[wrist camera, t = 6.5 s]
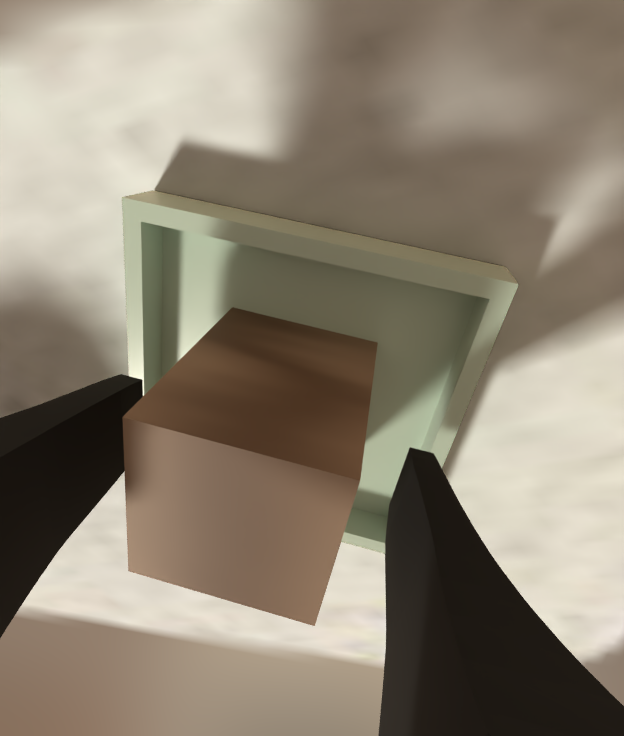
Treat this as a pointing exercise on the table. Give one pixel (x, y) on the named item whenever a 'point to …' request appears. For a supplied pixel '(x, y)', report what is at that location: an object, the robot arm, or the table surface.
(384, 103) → the table surface
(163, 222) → the tray
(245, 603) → the block
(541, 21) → the table surface
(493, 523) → the table surface
